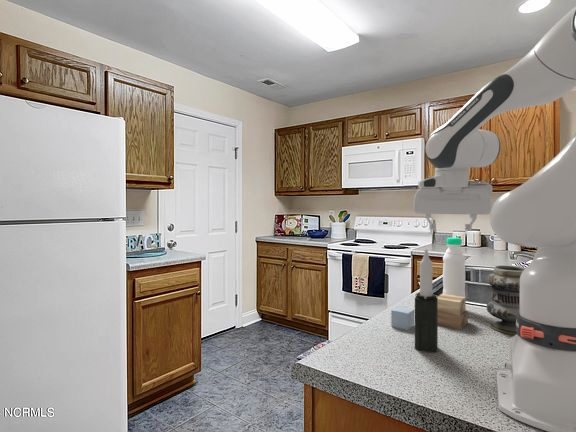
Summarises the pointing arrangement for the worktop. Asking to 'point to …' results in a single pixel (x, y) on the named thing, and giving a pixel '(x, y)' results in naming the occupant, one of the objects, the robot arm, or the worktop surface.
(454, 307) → the top block
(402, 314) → the blue cube
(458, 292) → the water bottle
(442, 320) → the bottom block
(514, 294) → the apothecary jar
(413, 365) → the worktop surface
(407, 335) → the worktop surface
